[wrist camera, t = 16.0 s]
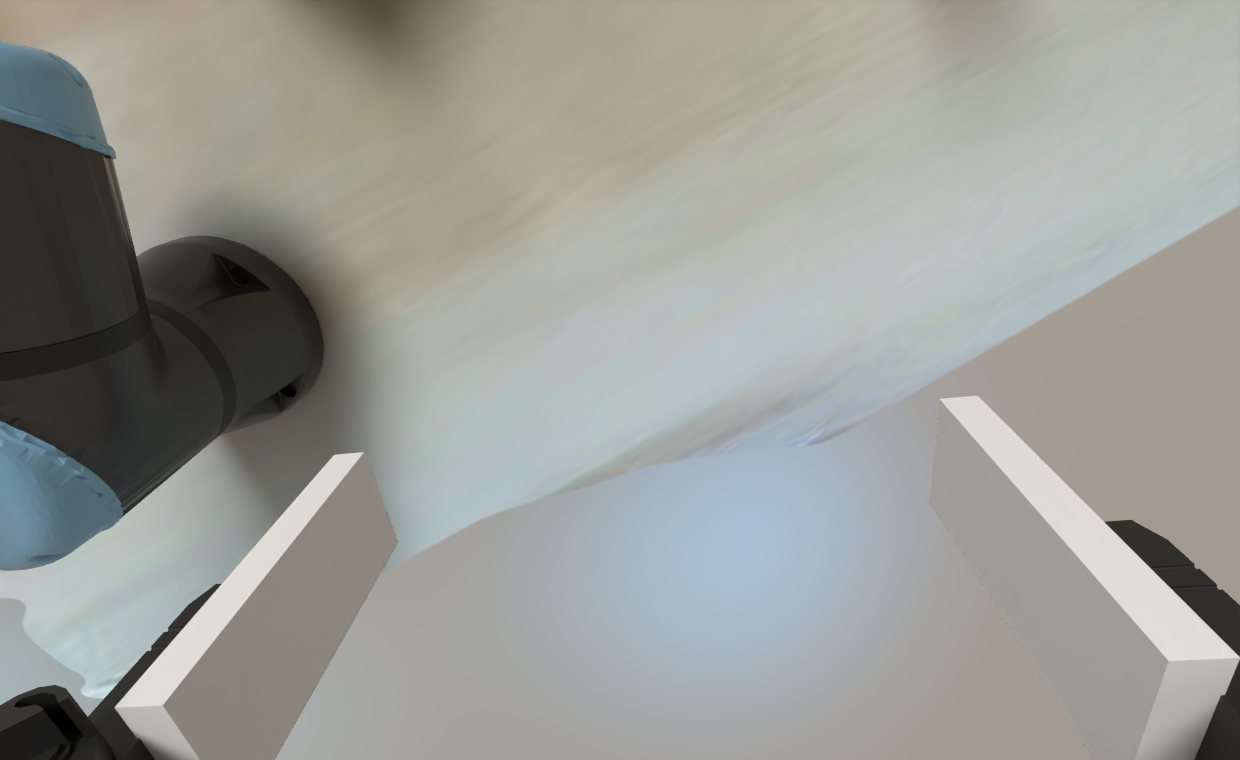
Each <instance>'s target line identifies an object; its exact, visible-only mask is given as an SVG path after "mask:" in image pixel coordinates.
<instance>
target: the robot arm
mask: <svg viewBox="0 0 1240 760" xmlns="http://www.w3.org/2000/svg"><path fill="white" fill-rule="evenodd" d="M113 159H116V154H115V151H114V149H113V148H112V147H111V146H109V145H108V143H107V140H106V137H105V133H104V130H103V127H102V124H101V120H100V117H99V114H98V110H97V107H96V104H95V101H94V97H93V94H92V91H91V88H90V86H89V84H88V83H87V81H86V80H85V78H84V77H83V76H82V74H81V73H80V72H79V71H78V70H77V69H76V68H75V67H73V66H72V65H71V64H69V63H68V62H67V61H65V60H63V59H62V58H60V57H58V56H56V55H54V54H52V53H50V52H47V51H44V50H40V49H36V48H32V47H27V46H23V45H18V44H13V43H8V42H3V41H0V570H8V571H12V570H24V569H31V568H36V567H40V566H44V565H47V564H50V563H53V562H55V561H57V560H59V559H61V558H63V557H65V556H66V555H68V554H70V553H71V552H73V551H74V550H75V549H77V548H78V547H80V546H81V545H82V544H84V543H85V542H87V541H88V540H89V539H91V538H92V537H94V536H95V535H96V534H98V533H99V532H101V531H104V530H107V529H109V528H111V527H113V525H114V524H116V523H117V522H118V521H119V519H120V518H122V517H123V516H124V515H125V514H126V513H128V512H129V511H130V510H131V509H132V508H133V507H135V506H136V505H137V504H138V503H139V502H141V501H142V500H143V499H144V498H145V497H147V496H148V495H149V494H150V493H151V492H153V491H154V490H155V489H156V488H157V487H158V486H160V485H161V484H162V483H163V482H164V481H166V480H167V479H168V478H169V477H170V476H172V475H173V474H174V473H175V472H176V471H177V470H179V469H180V468H181V467H182V466H183V465H185V464H186V463H187V462H188V461H189V460H191V459H192V458H193V457H194V456H195V455H197V454H198V453H199V452H200V451H201V450H202V449H204V448H205V447H206V446H207V445H208V444H209V443H211V442H212V441H213V440H214V439H216V438H217V437H218V436H219V435H221V434H224V433H228V432H231V431H234V430H237V429H241V428H244V427H247V426H250V425H253V424H257V423H260V422H263V421H266V420H269V419H272V418H274V417H276V416H278V415H280V414H282V413H283V412H285V411H286V410H288V409H289V408H290V407H292V406H293V405H294V404H295V403H296V402H297V401H298V400H299V399H301V398H302V397H303V396H304V395H305V394H306V393H307V392H308V391H309V390H310V388H311V387H312V386H313V384H314V383H315V381H316V379H317V377H318V374H319V371H320V368H321V364H322V357H323V344H322V336H321V331H320V327H319V324H318V321H317V318H316V316H315V314H314V311H313V309H312V307H311V305H310V304H309V302H308V300H307V299H306V297H305V296H304V294H303V293H302V291H301V290H300V289H299V287H298V286H297V285H296V284H295V282H294V281H293V280H292V279H291V278H290V277H289V276H288V275H287V274H286V273H285V272H284V271H283V270H282V269H281V268H279V267H278V266H277V265H276V264H274V263H273V262H272V261H270V260H269V259H268V258H266V257H265V256H263V255H261V254H260V253H258V252H256V251H254V250H252V249H250V248H248V247H246V246H244V245H242V244H239V243H236V242H233V241H230V240H227V239H222V238H218V237H210V236H191V237H184V238H180V239H176V240H173V241H170V242H167V243H164V244H161V245H158V246H155V247H153V248H151V249H149V250H147V251H145V252H143V253H142V254H140V255H139V256H137V257H136V254H135V250H134V245H133V241H132V237H131V233H130V229H129V225H128V221H127V216H126V212H125V208H124V204H123V200H122V196H121V191H120V187H119V183H118V179H117V175H116V171H115V167H114V162H113ZM932 477H933V478H932V488H931V498H930V504H931V505H932V507H933V508H934V510H935V511H936V513H937V515H938V516H939V518H940V519H941V521H942V522H943V524H944V526H945V527H946V529H947V530H948V532H949V534H950V535H951V537H952V538H953V540H954V541H955V543H956V545H957V546H958V548H959V549H960V551H961V552H962V554H963V556H964V557H965V559H966V560H967V562H968V563H969V565H970V567H971V568H972V570H973V571H974V573H975V574H976V576H977V577H978V579H979V581H980V582H981V584H982V585H983V587H984V589H985V590H986V592H987V593H988V595H989V596H990V598H991V600H992V601H993V603H994V604H995V606H996V607H997V609H998V610H999V612H1000V614H1001V615H1002V617H1003V618H1004V620H1005V621H1006V623H1007V625H1008V626H1009V628H1010V629H1011V631H1012V632H1013V634H1014V636H1015V637H1016V639H1017V640H1018V642H1019V643H1020V645H1021V647H1022V648H1023V650H1024V651H1025V653H1026V654H1027V656H1028V658H1029V659H1030V661H1031V662H1032V664H1033V665H1034V667H1035V668H1036V670H1037V672H1038V673H1039V675H1040V676H1041V678H1042V680H1043V681H1044V683H1045V684H1046V686H1047V687H1048V689H1049V691H1050V692H1051V694H1052V695H1053V697H1054V698H1055V700H1056V702H1057V703H1058V705H1059V706H1060V708H1061V709H1062V711H1063V713H1064V714H1065V715H1066V717H1067V719H1068V720H1069V722H1070V723H1071V725H1072V726H1073V728H1074V730H1075V731H1076V733H1077V734H1078V736H1079V738H1080V739H1081V741H1082V742H1083V744H1084V745H1085V747H1086V749H1087V750H1088V752H1089V753H1090V755H1091V756H1092V758H1093V760H1240V605H1239V604H1237V602H1236V601H1234V600H1233V599H1232V598H1231V597H1230V596H1229V595H1228V594H1227V593H1225V592H1224V591H1223V590H1218V588H1217V585H1216V583H1215V582H1214V581H1212V580H1211V579H1210V578H1209V577H1208V576H1207V575H1206V574H1204V572H1202V571H1201V570H1200V569H1196V568H1195V567H1194V563H1192V562H1191V561H1190V560H1189V559H1188V558H1187V557H1186V556H1185V555H1184V554H1183V553H1182V552H1180V551H1179V550H1178V549H1177V548H1176V547H1175V546H1174V545H1173V544H1171V543H1170V542H1169V541H1168V540H1167V539H1165V538H1163V537H1162V536H1160V535H1158V534H1156V533H1154V532H1152V531H1151V530H1149V529H1147V528H1145V527H1143V526H1141V525H1139V524H1138V523H1136V522H1134V521H1132V520H1124V521H1109V522H1104V521H1103V520H1102V519H1101V518H1099V516H1098V515H1097V514H1096V513H1094V512H1093V511H1092V510H1091V509H1090V508H1089V507H1088V506H1087V505H1086V504H1085V503H1084V502H1083V501H1082V500H1081V499H1080V498H1079V497H1078V496H1077V495H1076V494H1075V493H1074V492H1073V491H1072V490H1071V489H1070V488H1069V487H1068V486H1067V485H1066V484H1065V483H1064V482H1063V481H1062V480H1061V479H1060V478H1059V477H1058V476H1057V475H1056V474H1055V473H1054V472H1053V471H1052V470H1051V469H1050V468H1049V467H1048V466H1047V465H1046V464H1045V463H1044V462H1043V461H1042V460H1041V459H1040V458H1039V457H1038V456H1037V455H1036V454H1035V453H1034V452H1033V451H1032V450H1031V449H1030V448H1029V447H1028V446H1027V445H1026V444H1025V443H1024V442H1023V441H1022V440H1021V439H1020V438H1019V437H1018V436H1017V435H1016V434H1015V433H1014V432H1013V431H1012V430H1011V429H1010V428H1009V427H1008V426H1007V425H1006V424H1005V423H1004V422H1003V421H1002V420H1001V419H1000V418H999V417H998V416H997V415H996V414H995V413H994V412H993V411H992V410H991V409H990V408H989V407H988V406H987V405H986V404H985V403H984V402H983V401H982V400H981V399H980V398H979V397H978V396H969V397H958V398H947V399H940V401H939V413H938V423H937V434H936V444H935V456H934V466H933V476H932ZM397 543H398V541H397V538H396V536H395V533H394V530H393V528H392V525H391V522H390V520H389V517H388V514H387V512H386V509H385V506H384V504H383V501H382V498H381V496H380V493H379V490H378V488H377V485H376V482H375V480H374V477H373V474H372V472H371V469H370V466H369V464H368V461H367V458H366V456H365V453H364V452H359V453H348V454H338V455H334V456H333V457H332V458H331V459H330V460H329V461H328V462H327V464H326V465H325V466H324V467H323V468H322V469H321V470H320V472H319V473H318V474H317V475H316V476H315V477H314V479H313V480H312V481H311V482H310V483H309V484H308V485H307V487H306V488H305V489H304V490H303V491H302V492H301V493H300V495H299V496H298V497H297V498H296V499H295V500H294V502H293V503H292V504H291V505H290V506H289V507H288V508H287V510H286V511H285V512H284V513H283V514H282V515H281V516H280V518H279V519H278V520H277V521H276V522H275V523H274V525H273V526H272V527H271V528H270V529H269V530H268V531H267V533H266V534H265V535H264V536H263V537H262V538H261V539H260V541H259V542H258V543H257V544H256V545H255V546H254V548H253V549H252V550H251V551H250V552H249V553H248V554H247V556H246V557H245V558H244V559H243V560H242V561H241V562H240V564H239V565H238V566H237V567H236V568H235V569H234V571H233V572H232V573H231V574H230V575H229V576H228V577H227V579H226V580H225V581H224V582H223V583H222V584H216V585H214V586H213V587H212V588H210V589H209V590H208V591H206V592H205V593H204V594H202V595H201V596H200V597H198V598H197V599H196V600H194V601H193V602H192V603H190V604H189V605H188V606H187V607H186V608H185V609H184V611H183V612H182V613H181V614H180V615H179V616H178V617H177V618H176V619H175V621H174V622H173V623H172V624H171V625H170V626H169V627H168V632H164V633H163V634H162V635H161V636H160V637H159V638H158V639H157V641H156V642H155V643H154V644H153V645H152V646H151V647H152V649H151V651H147V652H146V653H145V654H144V655H143V656H142V657H141V658H140V659H139V661H138V662H137V663H136V664H135V665H134V666H133V667H132V668H131V670H130V671H129V672H128V673H127V674H126V675H125V676H124V677H123V678H122V680H121V681H120V682H119V683H118V684H117V685H116V686H115V687H114V688H113V690H112V691H111V692H110V693H109V694H108V695H107V696H106V697H105V698H104V700H103V701H102V702H101V703H100V704H99V705H98V706H97V707H96V708H95V710H94V711H93V712H92V713H91V714H90V715H89V716H88V717H87V716H86V714H85V713H84V712H83V710H82V709H81V708H80V706H79V705H78V704H77V702H76V701H75V700H74V699H73V697H72V696H71V695H70V693H69V692H68V691H67V689H65V688H63V687H59V686H56V685H52V686H45V687H39V688H36V689H34V690H31V691H28V692H25V693H23V694H20V695H18V696H16V697H14V698H12V699H11V700H9V701H7V702H5V703H4V704H2V705H0V760H275V758H276V756H277V755H278V753H279V751H280V749H281V747H282V746H283V744H284V742H285V740H286V739H287V737H288V735H289V733H290V732H291V730H292V728H293V726H294V725H295V723H296V721H297V719H298V718H299V716H300V714H301V712H302V711H303V709H304V707H305V705H306V703H307V702H308V700H309V698H310V696H311V695H312V693H313V691H314V689H315V687H316V686H317V684H318V682H319V681H320V679H321V677H322V675H323V674H324V672H325V670H326V668H327V666H328V665H329V663H330V661H331V659H332V658H333V656H334V654H335V652H336V651H337V649H338V647H339V645H340V643H341V642H342V640H343V638H344V636H345V634H346V633H347V631H348V629H349V628H350V626H351V624H352V622H353V621H354V619H355V617H356V615H357V614H358V612H359V610H360V608H361V606H362V605H363V603H364V601H365V599H366V598H367V596H368V594H369V592H370V591H371V589H372V587H373V585H374V584H375V582H376V580H377V578H378V577H379V575H380V573H381V571H382V569H383V568H384V566H385V564H386V562H387V561H388V559H389V557H390V555H391V554H392V552H393V550H394V548H395V547H396V545H397Z"/></svg>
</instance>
